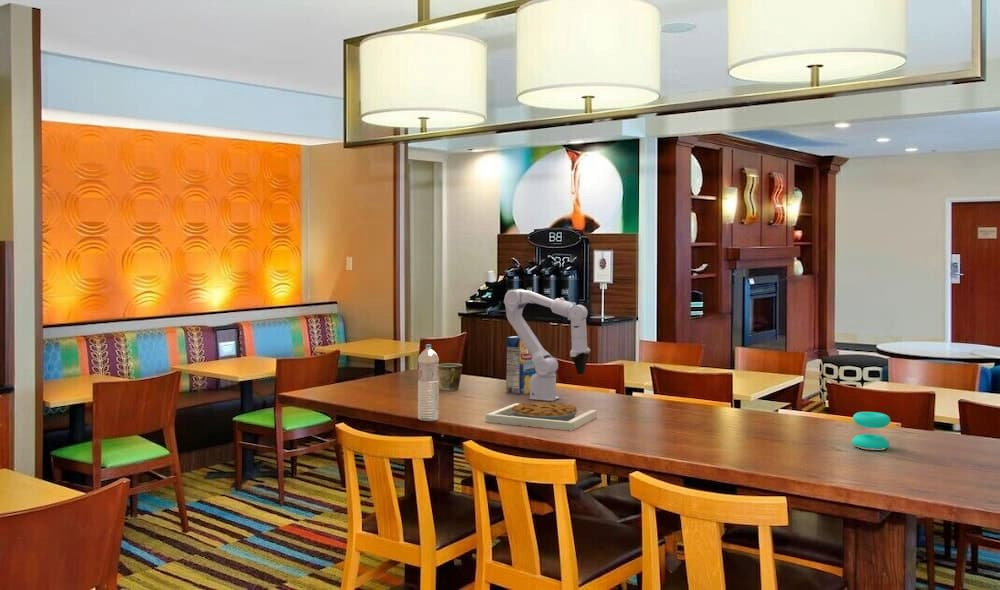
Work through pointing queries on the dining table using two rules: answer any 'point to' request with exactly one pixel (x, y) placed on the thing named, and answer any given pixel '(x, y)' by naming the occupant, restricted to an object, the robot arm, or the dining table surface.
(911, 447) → the dining table surface
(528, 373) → the beverage box
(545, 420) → the serving corral
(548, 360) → the robot arm
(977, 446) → the dining table surface
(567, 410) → the pie
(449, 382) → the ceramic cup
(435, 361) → the water bottle
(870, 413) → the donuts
